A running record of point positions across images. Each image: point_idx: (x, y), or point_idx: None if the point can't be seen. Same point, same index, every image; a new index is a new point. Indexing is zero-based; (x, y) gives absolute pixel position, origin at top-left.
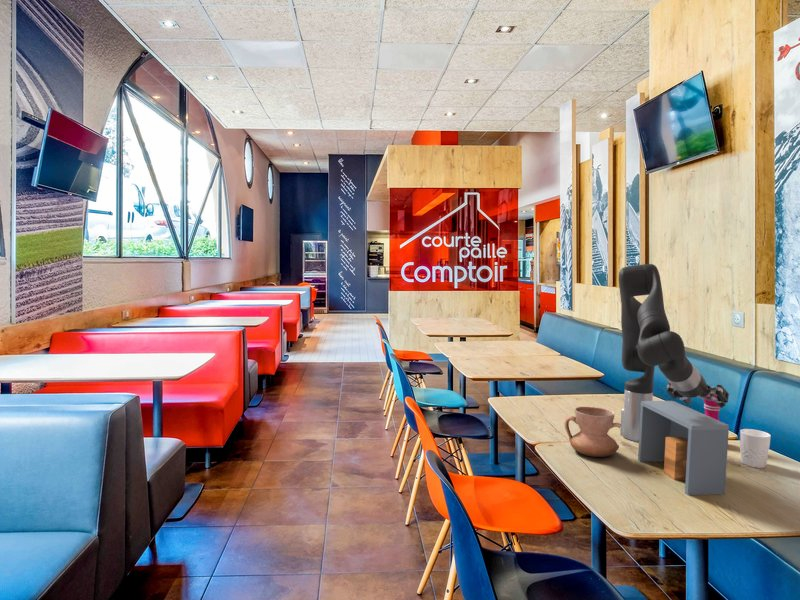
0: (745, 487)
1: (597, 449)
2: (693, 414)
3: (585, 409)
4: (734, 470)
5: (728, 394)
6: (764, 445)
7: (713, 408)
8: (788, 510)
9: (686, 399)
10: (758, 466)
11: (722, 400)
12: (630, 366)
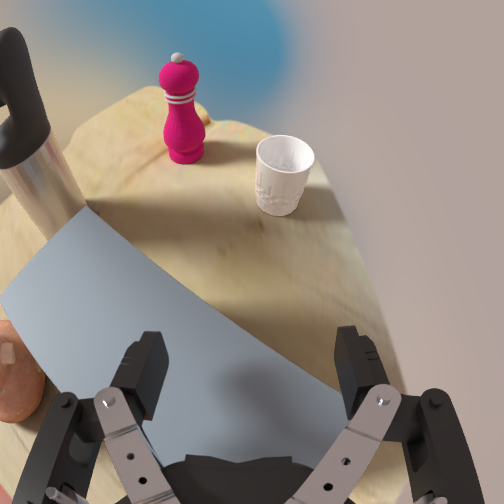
0: (313, 338)
1: (20, 418)
2: (194, 361)
3: None
4: (265, 258)
5: (447, 405)
6: (306, 179)
7: (184, 99)
8: (398, 384)
9: (151, 402)
10: (291, 212)
11: (407, 452)
12: None
